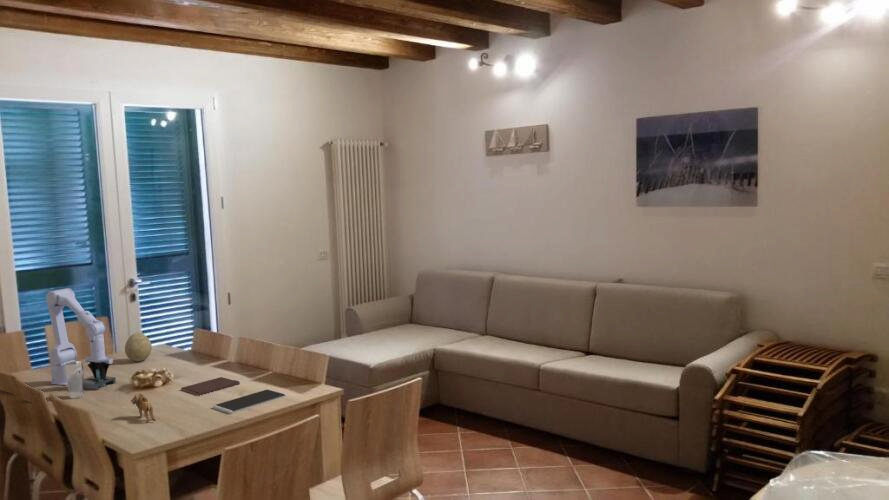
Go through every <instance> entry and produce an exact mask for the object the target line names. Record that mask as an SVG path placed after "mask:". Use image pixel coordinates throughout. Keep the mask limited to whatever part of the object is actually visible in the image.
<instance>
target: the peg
mask: <svg viewBox="0 0 889 500" xmlns="http://www.w3.org/2000/svg"><path fill="white" fill-rule="evenodd" d="M96 378H97V379H98V381H99V382H102V381H103V379H101V377H100V372H99V369H97V370H96ZM105 386H107V383H104V384H101V385H99V388H100V387H102V388H103V387H105Z"/></svg>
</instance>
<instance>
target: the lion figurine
mask: <svg viewBox="0 0 889 500" xmlns="http://www.w3.org/2000/svg"><path fill="white" fill-rule="evenodd" d="M130 402H131V403H132V405H135V406H136V407H137V409H138V412H139V413H138V414H139V416H138V419H141V418H143V417H145V419H146V421H145V423H147V424H148V423H150V419H151V420H152V421H153V422H156V421H157V420H156V417H155V415H154V408H153V405H152V403H151V402H149V401H148V399H147V398H146V396H145V395H144V394H142V393H135V394H134V397H132V399H131V400H130ZM149 416H150V418H149Z"/></svg>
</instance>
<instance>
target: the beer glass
mask: <svg viewBox="0 0 889 500" xmlns="http://www.w3.org/2000/svg"><path fill="white" fill-rule="evenodd" d="M65 377H66V381H67V384H68V385H67V386H68V399H70V400H74V399H75V400H76V399H80V398H83V397H85V392H84V389H83V379H84V365H83V361H82V360H75V361H72V362H68V363H65Z"/></svg>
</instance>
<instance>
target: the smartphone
mask: <svg viewBox="0 0 889 500" xmlns="http://www.w3.org/2000/svg"><path fill="white" fill-rule="evenodd" d="M286 397H287V393H284V392H280V391H276V390H273V389H264V390H260V391H257V392H254V393H250V394H247V395H242V396H240V397H238V398H233V399H229V400H227V401H224V402H219V403H216V404H213V405H212V409H213V410H216V411H219V412H222V413H225V414H228V415H234V414H237V413H240V412H242V411H247V410H249V409H253V408H255V407H258V405H259V406H261V404H262V405H264V403H265V404H268V403H271V402H274V401H276V400H280V399H283V398H286ZM239 411H240V412H239ZM233 413H234V414H233Z"/></svg>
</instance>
